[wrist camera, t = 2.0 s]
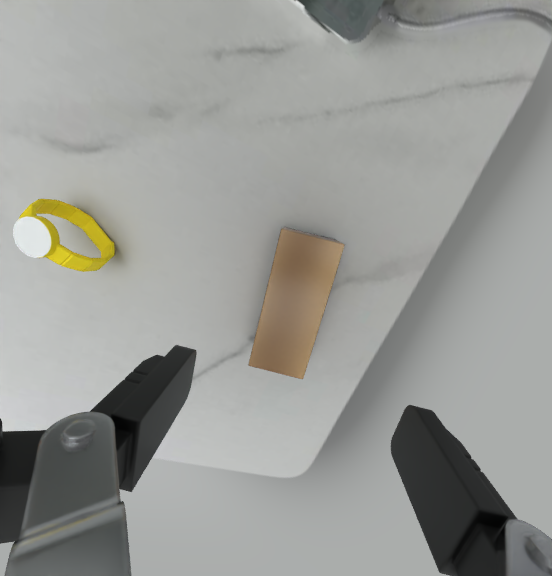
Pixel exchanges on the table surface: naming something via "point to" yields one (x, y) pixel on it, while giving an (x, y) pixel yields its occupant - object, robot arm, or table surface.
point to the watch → (45, 239)
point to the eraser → (295, 301)
